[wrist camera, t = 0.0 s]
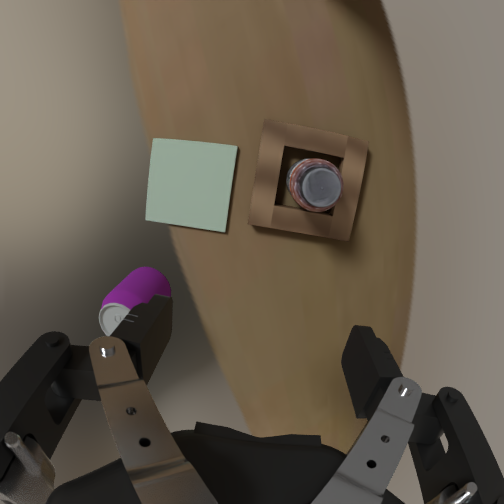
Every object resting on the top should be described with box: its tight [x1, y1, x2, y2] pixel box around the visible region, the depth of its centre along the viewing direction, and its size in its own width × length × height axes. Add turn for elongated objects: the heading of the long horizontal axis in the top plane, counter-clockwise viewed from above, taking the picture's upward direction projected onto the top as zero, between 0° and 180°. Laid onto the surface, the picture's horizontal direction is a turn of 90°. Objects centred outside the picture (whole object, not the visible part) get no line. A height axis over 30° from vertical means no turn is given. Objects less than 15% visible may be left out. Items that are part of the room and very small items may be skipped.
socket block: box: [248, 119, 369, 242], centre depth 37 cm, size 14×14×2 cm
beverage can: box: [99, 267, 171, 336], centre depth 39 cm, size 8×8×12 cm
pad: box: [146, 138, 238, 232], centre depth 39 cm, size 12×12×1 cm
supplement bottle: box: [286, 158, 344, 212], centre depth 33 cm, size 6×6×11 cm
